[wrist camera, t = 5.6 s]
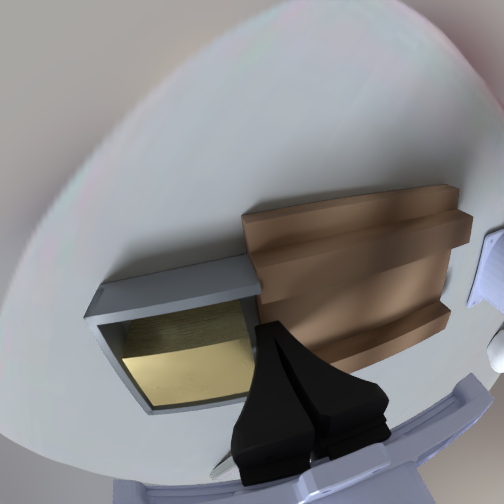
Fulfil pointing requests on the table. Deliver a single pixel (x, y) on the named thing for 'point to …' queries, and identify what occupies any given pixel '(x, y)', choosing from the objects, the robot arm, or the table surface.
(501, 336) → the plain white apple
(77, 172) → the table surface
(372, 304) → the slot board
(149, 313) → the tray
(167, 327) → the block
